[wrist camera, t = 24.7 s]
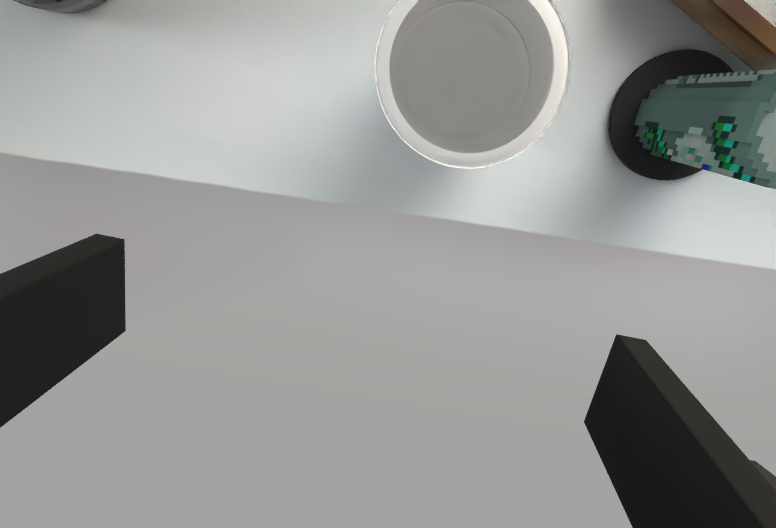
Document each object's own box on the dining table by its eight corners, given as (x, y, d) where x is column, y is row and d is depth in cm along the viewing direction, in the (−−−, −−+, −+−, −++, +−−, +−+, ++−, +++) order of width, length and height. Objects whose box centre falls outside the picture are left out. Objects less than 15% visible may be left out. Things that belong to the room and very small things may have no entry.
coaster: (582, 132, 41) (584, 133, 40) (672, 22, 38) (676, 21, 37) (672, 202, 42) (675, 203, 41) (767, 101, 39) (772, 101, 38)
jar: (550, 69, 39) (616, 55, 25) (463, 169, 43) (478, 206, 28) (450, -24, 38) (460, -93, 24) (368, 87, 41) (334, 84, 27)
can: (625, 150, 40) (729, 180, 26) (651, 71, 38) (778, 59, 24) (699, 163, 40) (843, 201, 26) (729, 85, 38) (903, 80, 24)
